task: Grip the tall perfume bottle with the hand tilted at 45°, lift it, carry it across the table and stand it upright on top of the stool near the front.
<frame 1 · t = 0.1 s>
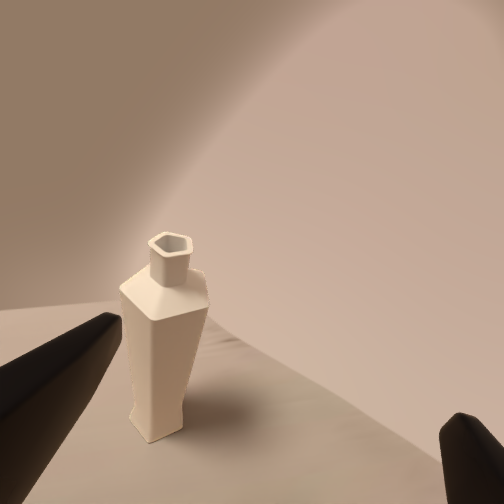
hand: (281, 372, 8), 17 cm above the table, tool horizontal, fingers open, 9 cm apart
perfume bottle: (160, 416, 23), on the table
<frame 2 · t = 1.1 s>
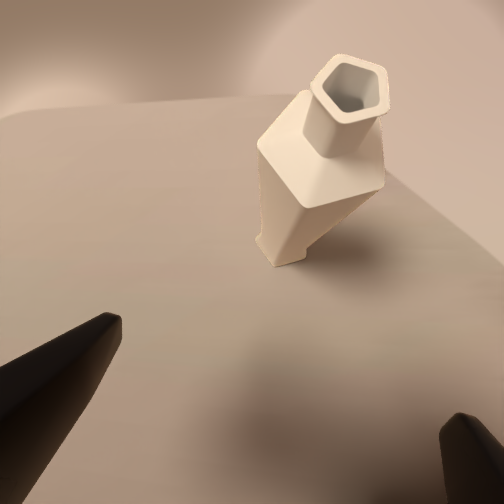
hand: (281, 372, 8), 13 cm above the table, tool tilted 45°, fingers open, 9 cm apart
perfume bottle: (284, 243, 23), on the table
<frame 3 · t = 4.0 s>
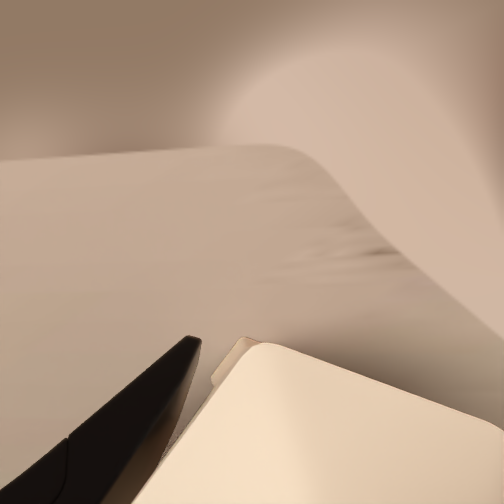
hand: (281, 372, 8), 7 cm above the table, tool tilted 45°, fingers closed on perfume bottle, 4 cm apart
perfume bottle: (256, 381, 15), on the table, touching gripper
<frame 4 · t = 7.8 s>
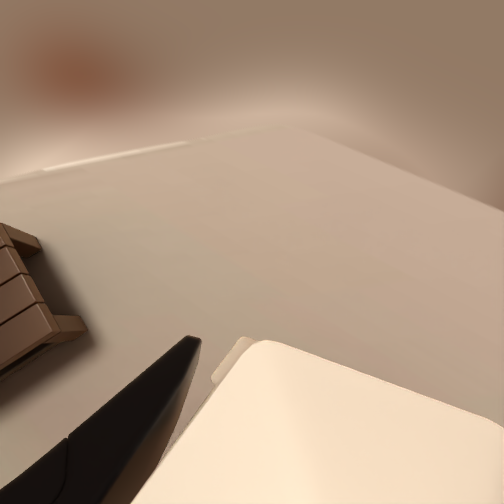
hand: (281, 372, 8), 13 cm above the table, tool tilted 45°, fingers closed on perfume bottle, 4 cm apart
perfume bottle: (257, 381, 15), point 6 cm above the table, touching gripper
stool: (7, 315, 21), on the table
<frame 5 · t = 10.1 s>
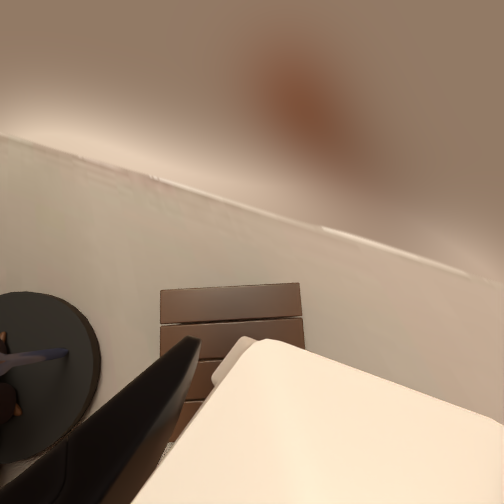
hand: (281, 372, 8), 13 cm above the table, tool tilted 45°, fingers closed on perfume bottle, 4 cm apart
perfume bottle: (257, 380, 15), point 6 cm above the table, touching gripper
stool: (235, 351, 21), on the table
figurine: (23, 370, 20), on the table
when the fingers open (11 cm above the table, at t = 11.8 s): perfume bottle stays where it is, resting on stool.
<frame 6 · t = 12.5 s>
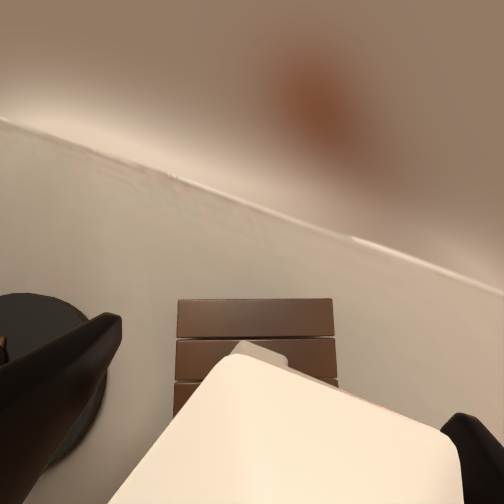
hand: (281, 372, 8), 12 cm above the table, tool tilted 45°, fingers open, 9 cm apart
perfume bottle: (255, 384, 15), point 4 cm above the table, touching stool
stool: (254, 369, 19), on the table
figurine: (21, 379, 19), on the table
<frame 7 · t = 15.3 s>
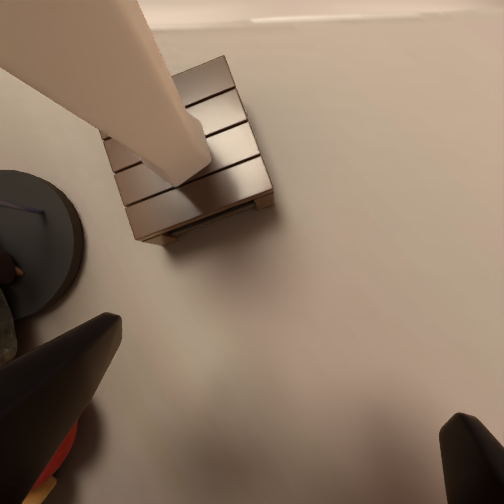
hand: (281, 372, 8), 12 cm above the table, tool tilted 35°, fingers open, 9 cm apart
kendama: (3, 479, 21), on the table
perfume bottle: (181, 152, 17), point 4 cm above the table, touching stool
stool: (198, 169, 21), on the table
figurine: (16, 245, 22), on the table
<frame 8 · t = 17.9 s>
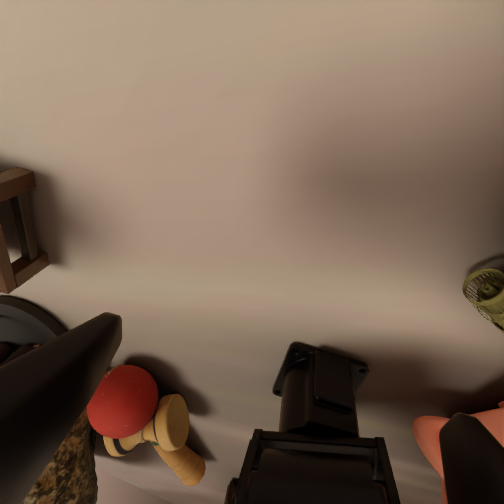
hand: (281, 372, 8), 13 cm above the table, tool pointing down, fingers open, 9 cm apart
kendama: (168, 409, 34), on the table
rock: (71, 406, 37), on the table
figurine: (27, 335, 31), on the table
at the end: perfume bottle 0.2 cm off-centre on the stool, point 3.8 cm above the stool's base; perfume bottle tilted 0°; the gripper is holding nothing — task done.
